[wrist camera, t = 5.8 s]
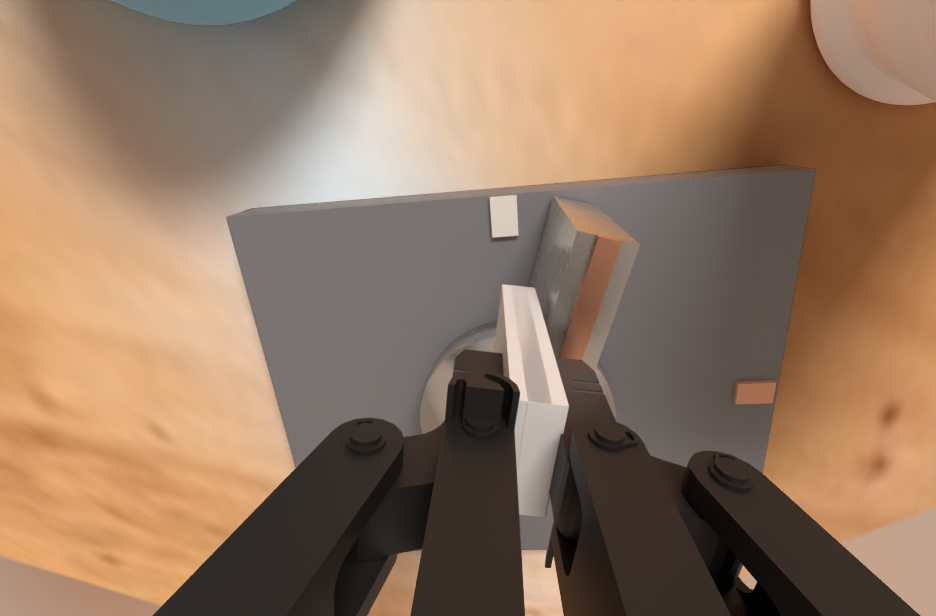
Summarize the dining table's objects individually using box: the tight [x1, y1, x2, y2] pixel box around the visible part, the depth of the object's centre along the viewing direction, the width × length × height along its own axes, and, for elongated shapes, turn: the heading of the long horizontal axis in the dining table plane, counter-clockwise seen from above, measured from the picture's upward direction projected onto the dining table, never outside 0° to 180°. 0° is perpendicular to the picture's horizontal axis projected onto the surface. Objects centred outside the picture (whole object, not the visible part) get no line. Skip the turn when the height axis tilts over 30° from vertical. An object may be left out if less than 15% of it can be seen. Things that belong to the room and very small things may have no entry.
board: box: [226, 165, 816, 551], centre depth 22 cm, size 22×18×2 cm
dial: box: [420, 196, 640, 434], centre depth 17 cm, size 13×8×6 cm, turn 168°
